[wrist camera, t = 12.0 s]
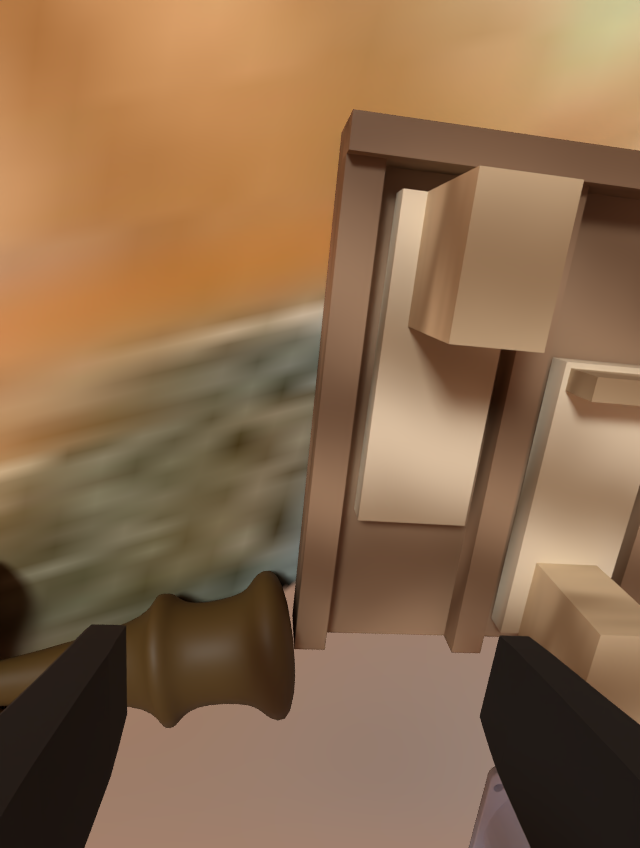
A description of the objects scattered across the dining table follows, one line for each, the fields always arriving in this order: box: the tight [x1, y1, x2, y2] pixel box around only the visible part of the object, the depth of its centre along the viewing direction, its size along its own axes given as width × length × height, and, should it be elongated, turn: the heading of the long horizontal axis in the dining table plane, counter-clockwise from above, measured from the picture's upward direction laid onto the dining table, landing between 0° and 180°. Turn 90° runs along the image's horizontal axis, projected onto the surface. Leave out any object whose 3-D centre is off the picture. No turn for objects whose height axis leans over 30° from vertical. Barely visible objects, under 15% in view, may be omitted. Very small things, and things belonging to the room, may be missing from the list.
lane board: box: [292, 109, 640, 653], centre depth 18 cm, size 18×14×2 cm
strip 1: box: [354, 166, 584, 526], centre depth 15 cm, size 11×4×5 cm, turn 174°
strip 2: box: [491, 357, 640, 724], centre depth 17 cm, size 12×4×5 cm, turn 174°
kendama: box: [0, 571, 295, 728], centre depth 18 cm, size 6×10×20 cm
